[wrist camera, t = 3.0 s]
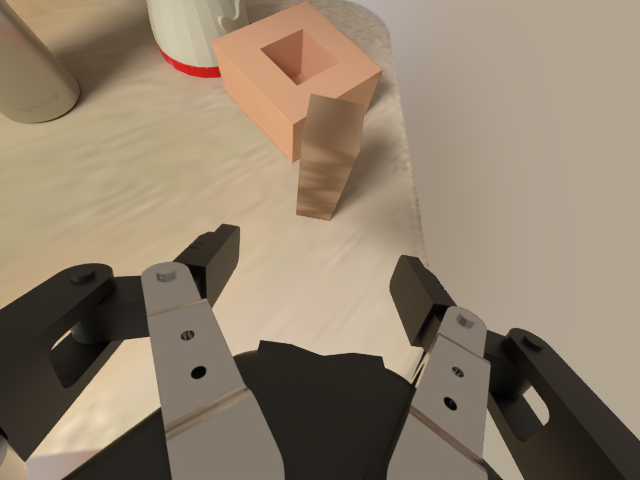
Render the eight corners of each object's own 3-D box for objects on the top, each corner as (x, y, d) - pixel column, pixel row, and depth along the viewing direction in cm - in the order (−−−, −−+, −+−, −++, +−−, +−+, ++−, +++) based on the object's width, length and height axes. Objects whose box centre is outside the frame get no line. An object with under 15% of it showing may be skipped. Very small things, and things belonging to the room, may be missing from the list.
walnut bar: (296, 214, 31) (301, 138, 17) (301, 185, 32) (310, 93, 19) (329, 220, 31) (360, 150, 18) (333, 191, 32) (364, 105, 19)
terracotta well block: (225, 92, 35) (211, 40, 28) (303, 53, 39) (306, 0, 33) (292, 162, 33) (293, 124, 26) (366, 113, 37) (383, 69, 31)
